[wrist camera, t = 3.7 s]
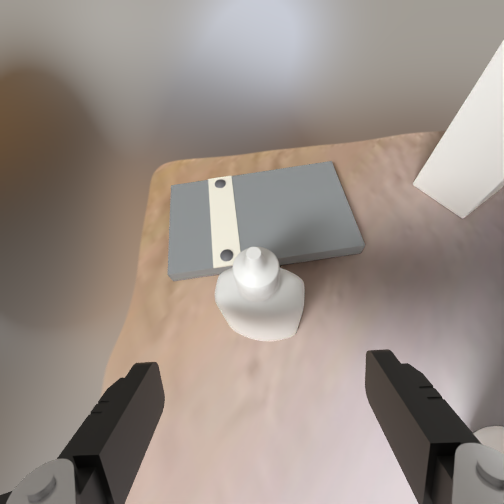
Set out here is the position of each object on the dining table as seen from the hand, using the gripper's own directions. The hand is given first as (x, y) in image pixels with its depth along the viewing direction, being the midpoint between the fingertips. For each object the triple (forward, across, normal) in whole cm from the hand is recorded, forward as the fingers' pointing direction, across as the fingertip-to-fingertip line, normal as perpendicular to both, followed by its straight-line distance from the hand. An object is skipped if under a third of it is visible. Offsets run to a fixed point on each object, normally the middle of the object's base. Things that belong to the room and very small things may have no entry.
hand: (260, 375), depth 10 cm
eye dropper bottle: (+12, 0, +5) cm, 13 cm away
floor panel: (+19, 0, -3) cm, 19 cm away
